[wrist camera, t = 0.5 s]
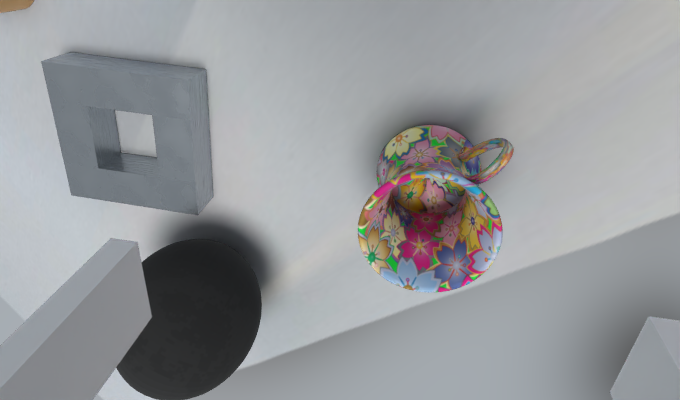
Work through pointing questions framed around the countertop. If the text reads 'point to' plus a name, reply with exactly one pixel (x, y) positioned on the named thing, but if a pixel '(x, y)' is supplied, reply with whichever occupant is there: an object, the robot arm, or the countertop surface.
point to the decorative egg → (193, 320)
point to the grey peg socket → (102, 136)
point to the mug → (432, 210)
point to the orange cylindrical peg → (14, 5)
